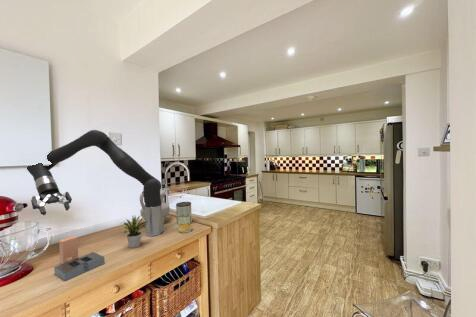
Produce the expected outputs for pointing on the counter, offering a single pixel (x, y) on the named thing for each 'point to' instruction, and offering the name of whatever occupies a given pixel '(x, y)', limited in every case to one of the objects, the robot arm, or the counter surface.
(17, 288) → the counter surface
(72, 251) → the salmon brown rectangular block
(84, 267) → the grey socket block
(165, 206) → the ceramic pitcher
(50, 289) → the counter surface
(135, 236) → the house plant
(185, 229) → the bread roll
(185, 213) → the coffee can
